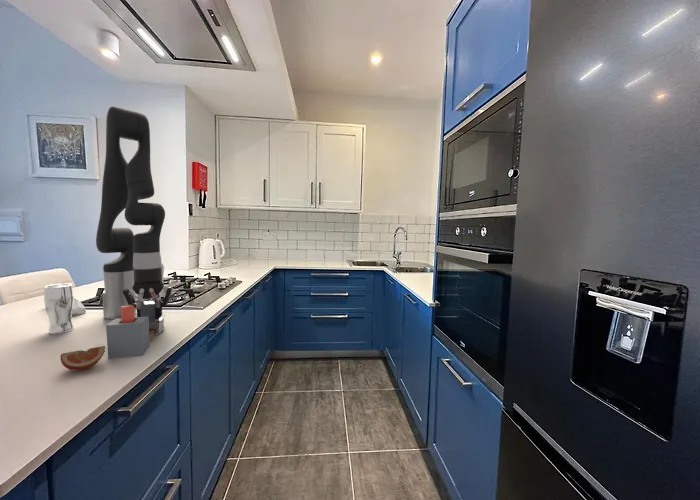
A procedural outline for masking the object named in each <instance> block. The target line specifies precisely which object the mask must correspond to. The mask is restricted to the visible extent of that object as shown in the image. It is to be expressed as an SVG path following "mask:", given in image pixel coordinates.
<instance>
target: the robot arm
mask: <svg viewBox="0 0 700 500" xmlns="http://www.w3.org/2000/svg"><path fill="white" fill-rule="evenodd" d="M105 121H106V123H105V161H104V168H103V176H102V185H101V203H100V205H101V206H100V214H99V218H98V219H99V220H98V223H97V224H98V225H97V229H96V237H95V238H96V239H95V244H96V248H97V251H98V252H99V253H102V254H114V253H115V254H116V253H120V255H119V256H118V257H116V258H115V259H112V260H110V261H108V262H106V263H104V264H103V266H102V269H103V270H102V271H103V286H104V288H103V289H104V291H103V292H102V294H101V296H102V311H103V319H108V320H114V319H117V318H121V307H122V306H125V305H134V313H135V315H136V317H141V315H140V304H142V303H143V302H144V301H146V300H145V299H150V298H152V299H153V300H152V299H151V300H152V301H154V302H155V305H156V307H157V308H156V319H159V318H162V316H163V307H164V306H166V305H168V303H169V301H170V298H171V297H172V293H173V290H174V287H173V286H167V285H165V284H163V283H164V282H163V283H162V267H161V263H162V257H161V246H160V245H161V243H160V242H161V241H160V240H161V239H160V238H161V232H162V228H163V225H164V222H165V218H166V211H165V209H164V207H163V205H162V204H159V203H157V202H155V203H154V202H139V201H141V200H146V199H151V198H152V197H153V196H154V195H155V188H154V181H153V175H152V168H151V166H152V165H151V129H150V122H149V119H148V117H147V116H146V114H144V113H141V112H139V111H133V110H131V109H130V110H129V109H126V108H122V107H117V106H113V105H112V106H110V107H109V108H108V110H107V113H106V120H105ZM121 139H125V140H129V141H135V142H137V150H136V152H135V153H134V155H133V156H132V157H131V159H130V160H129V161H128V162H127V160H126V158H125V156H124V153H123V151H122V148H121ZM123 211H124V219H125V221H126V222H127V223H128V224H129V225H131V226H150V228H149V229H148V230H147V231H144V232H140V233H136V234H134V232H133V230H132V229H131V228H129V227H114V223H115V221H116V220H117V218H118V217H119V215H120V214H121V213H122V212H123ZM162 289H163V290H164V293H165V297H164V298H163V300H162V299H161V297H160V295H159V293H160V292H161V291H162ZM136 294H137V301H136Z"/></svg>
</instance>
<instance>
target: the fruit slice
mask: <svg viewBox="0 0 700 500" xmlns="http://www.w3.org/2000/svg"><path fill="white" fill-rule="evenodd" d="M105 352H106V345H101V346H96V347H91V348H88V349H86V350H74V351H68V352H63V353H61V354H60V355H59V356H60V362H61V364H62V366H63V367H64V368H66V369H68V370H69V371H83V370H87V369H90V368H92V367H94V366H95V365H97V364H98V362H100V360H101V359H102V358H103V356H104V354H105Z"/></svg>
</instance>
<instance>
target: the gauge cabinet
mask: <svg viewBox="0 0 700 500" xmlns="http://www.w3.org/2000/svg"><path fill="white" fill-rule="evenodd" d="M105 329H106V330H105V331H106V332H105V333H106V346H107V348H106V349H107V359H118V358H129V357H139V356H144V355H145V354H146V352H147V351H148V350H149V348H150V346H151V345H150V343H151V341H150V342H149V320H148V316H147V317H137V316H136V317H135V321H134V322H130V323H121V318H117V319H112V320H111V321H110V322H109V323H107V324H106V325H105Z"/></svg>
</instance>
